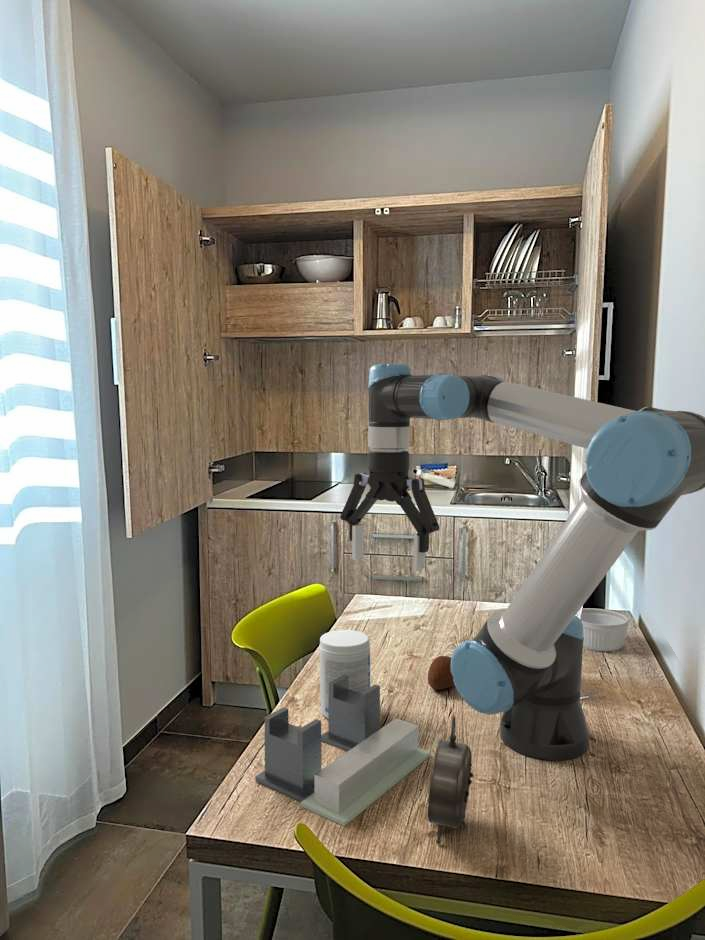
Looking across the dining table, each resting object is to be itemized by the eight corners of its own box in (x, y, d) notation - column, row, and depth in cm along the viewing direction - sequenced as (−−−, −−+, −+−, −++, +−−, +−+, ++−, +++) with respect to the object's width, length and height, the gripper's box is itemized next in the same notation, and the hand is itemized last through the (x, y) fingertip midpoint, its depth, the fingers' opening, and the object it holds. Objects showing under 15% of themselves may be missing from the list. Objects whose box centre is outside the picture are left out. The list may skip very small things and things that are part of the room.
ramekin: (574, 631, 179) (575, 604, 179) (629, 639, 174) (631, 612, 173) (565, 648, 168) (566, 620, 167) (624, 658, 162) (626, 628, 161)
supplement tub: (380, 716, 132) (380, 640, 131) (337, 729, 127) (337, 650, 125) (351, 697, 140) (352, 625, 139) (310, 708, 135) (310, 634, 133)
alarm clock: (438, 801, 105) (440, 697, 103) (474, 807, 103) (477, 702, 102) (424, 847, 95) (426, 732, 93) (465, 854, 93) (468, 738, 91)
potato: (463, 677, 150) (463, 648, 150) (452, 699, 140) (453, 668, 139) (435, 673, 152) (435, 644, 152) (422, 695, 142) (423, 664, 141)
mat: (430, 755, 118) (430, 752, 118) (344, 826, 99) (344, 822, 99) (390, 741, 123) (390, 737, 123) (300, 806, 104) (300, 802, 104)
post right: (388, 743, 122) (388, 685, 121) (366, 758, 117) (367, 698, 116) (342, 726, 128) (342, 671, 127) (319, 740, 123) (319, 683, 122)
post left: (331, 784, 109) (331, 720, 108) (304, 803, 104) (304, 736, 103) (282, 763, 115) (282, 703, 114) (255, 781, 110) (254, 717, 109)
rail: (418, 751, 118) (418, 725, 118) (338, 814, 101) (339, 784, 100) (395, 743, 121) (396, 718, 120) (314, 803, 103) (314, 774, 103)
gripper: (459, 452, 124) (457, 570, 126) (346, 444, 139) (345, 550, 141) (438, 455, 118) (436, 579, 120) (322, 447, 133) (322, 557, 135)
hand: (387, 563), depth 131 cm, fingers open, 13 cm apart
